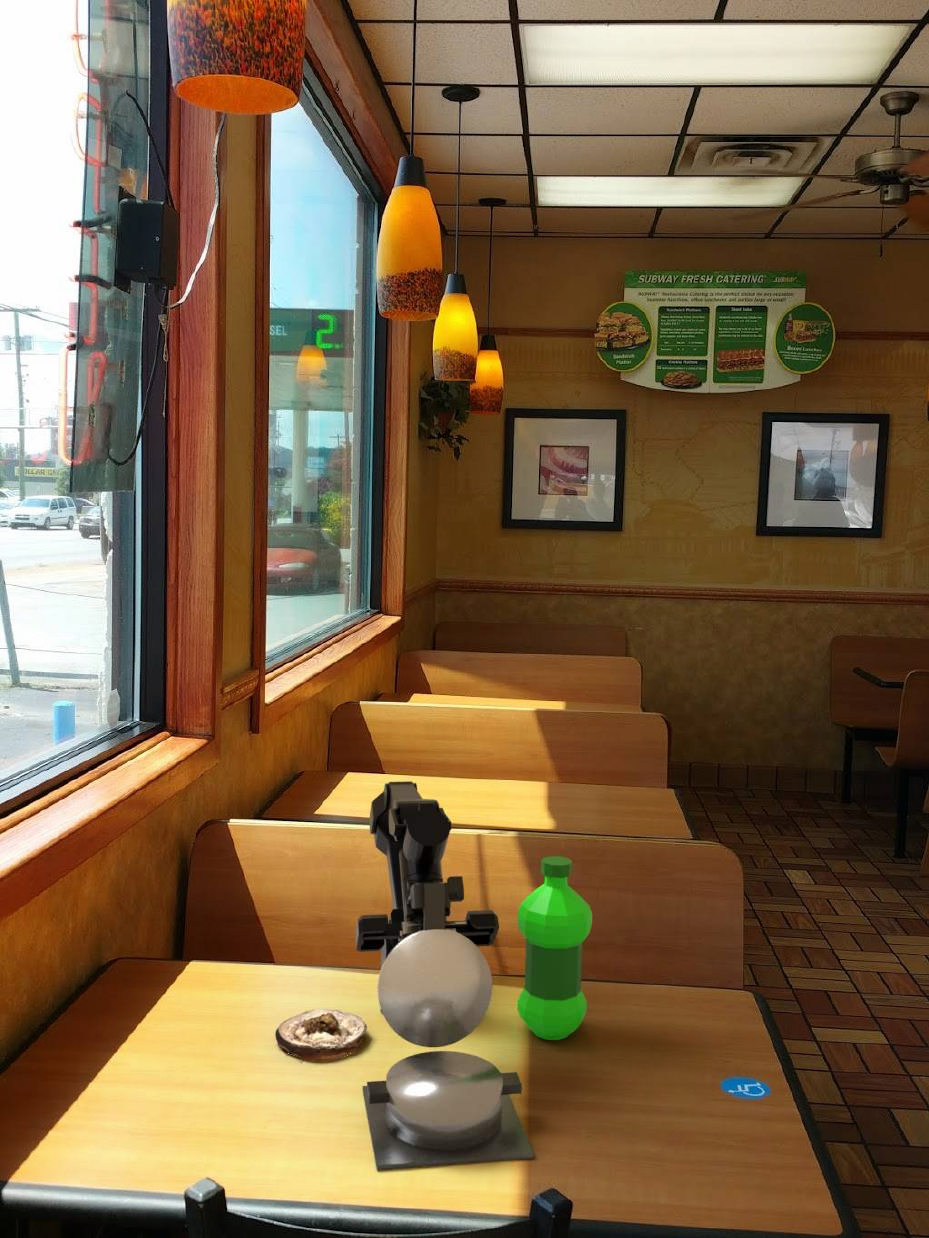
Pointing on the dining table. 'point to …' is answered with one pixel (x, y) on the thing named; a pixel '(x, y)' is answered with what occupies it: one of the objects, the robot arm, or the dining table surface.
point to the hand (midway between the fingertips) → (432, 992)
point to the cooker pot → (444, 1113)
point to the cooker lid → (434, 980)
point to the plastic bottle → (553, 953)
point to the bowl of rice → (321, 1035)
